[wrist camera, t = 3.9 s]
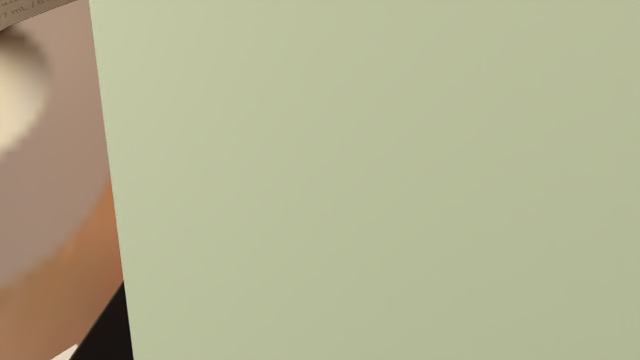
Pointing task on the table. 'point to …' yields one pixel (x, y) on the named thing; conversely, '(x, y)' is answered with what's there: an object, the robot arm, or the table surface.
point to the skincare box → (25, 9)
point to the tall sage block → (375, 177)
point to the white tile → (66, 353)
